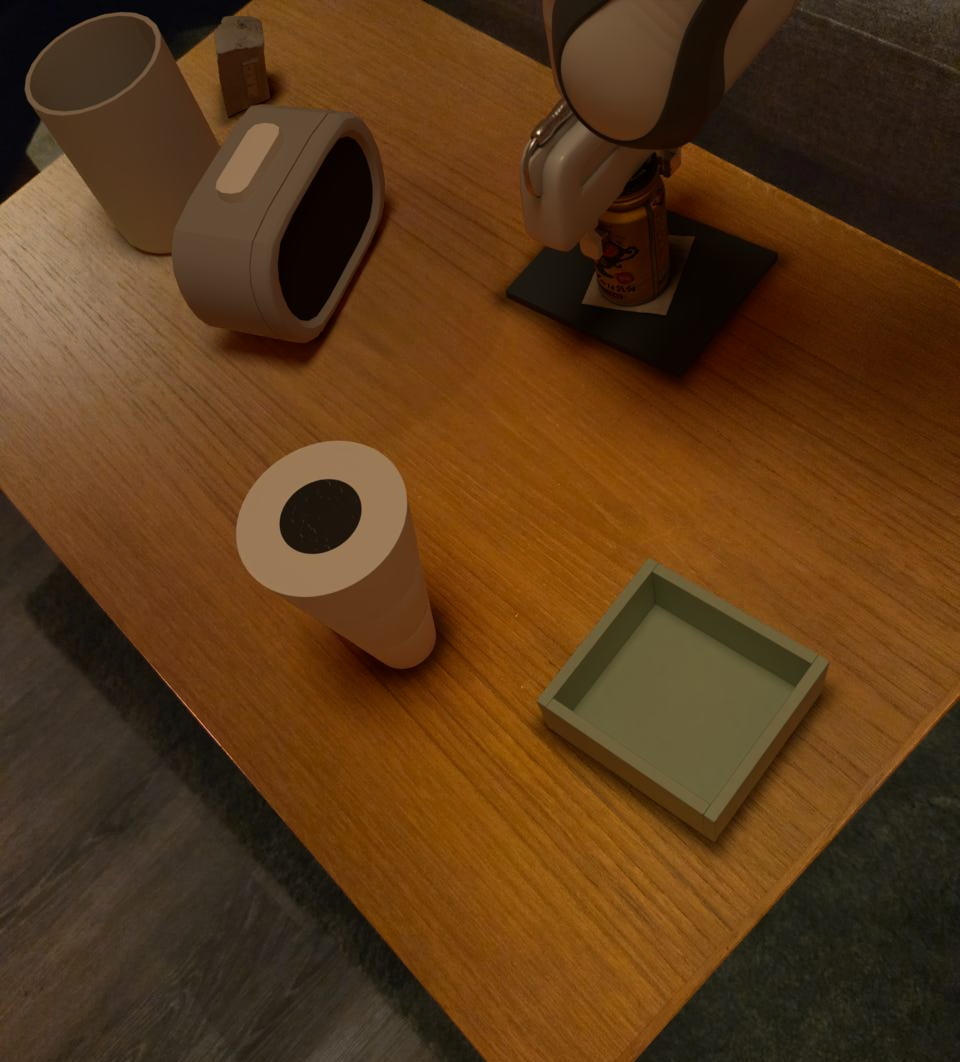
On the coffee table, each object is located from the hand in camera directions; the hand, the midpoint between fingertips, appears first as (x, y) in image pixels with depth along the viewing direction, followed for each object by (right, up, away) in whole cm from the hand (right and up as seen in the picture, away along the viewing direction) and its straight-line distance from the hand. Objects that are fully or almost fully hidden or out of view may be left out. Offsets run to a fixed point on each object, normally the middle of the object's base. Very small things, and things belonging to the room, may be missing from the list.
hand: (631, 210), depth 77 cm
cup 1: (-43, +12, +24) cm, 51 cm away
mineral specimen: (-36, +24, +28) cm, 52 cm away
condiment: (+2, -3, +6) cm, 7 cm away
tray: (+2, -38, -10) cm, 40 cm away
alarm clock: (-27, 0, +15) cm, 31 cm away
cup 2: (-17, -34, -3) cm, 38 cm away
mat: (+2, -3, +7) cm, 7 cm away
